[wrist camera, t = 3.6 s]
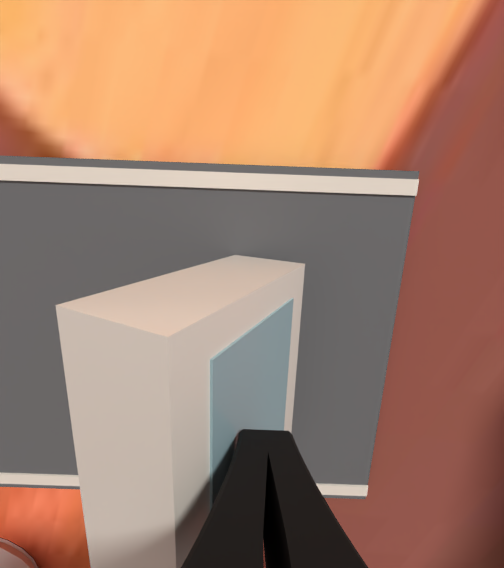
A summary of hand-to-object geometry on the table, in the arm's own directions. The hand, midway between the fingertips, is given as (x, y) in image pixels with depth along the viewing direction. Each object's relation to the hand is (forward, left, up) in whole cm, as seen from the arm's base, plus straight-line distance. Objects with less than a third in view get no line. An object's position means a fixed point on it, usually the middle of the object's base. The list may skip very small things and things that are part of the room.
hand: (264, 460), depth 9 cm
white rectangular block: (0, 0, -5) cm, 5 cm away
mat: (+4, 0, -6) cm, 8 cm away
